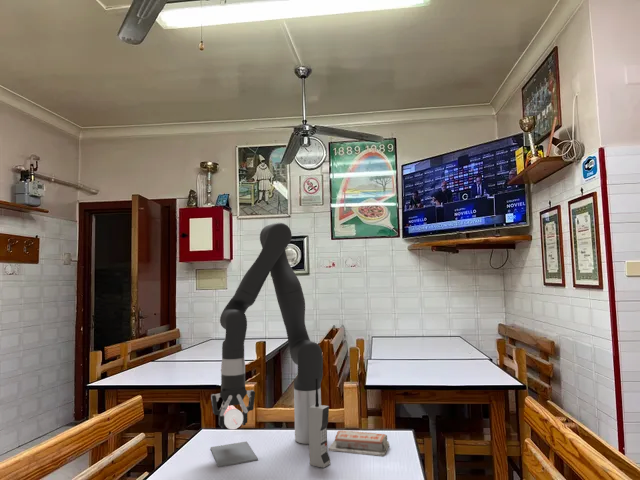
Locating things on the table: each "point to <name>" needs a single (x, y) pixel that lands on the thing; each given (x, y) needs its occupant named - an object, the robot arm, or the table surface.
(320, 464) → the vintage mobile phone
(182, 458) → the table surface
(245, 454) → the mat
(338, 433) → the packaged product
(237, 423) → the beverage cup
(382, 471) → the table surface
